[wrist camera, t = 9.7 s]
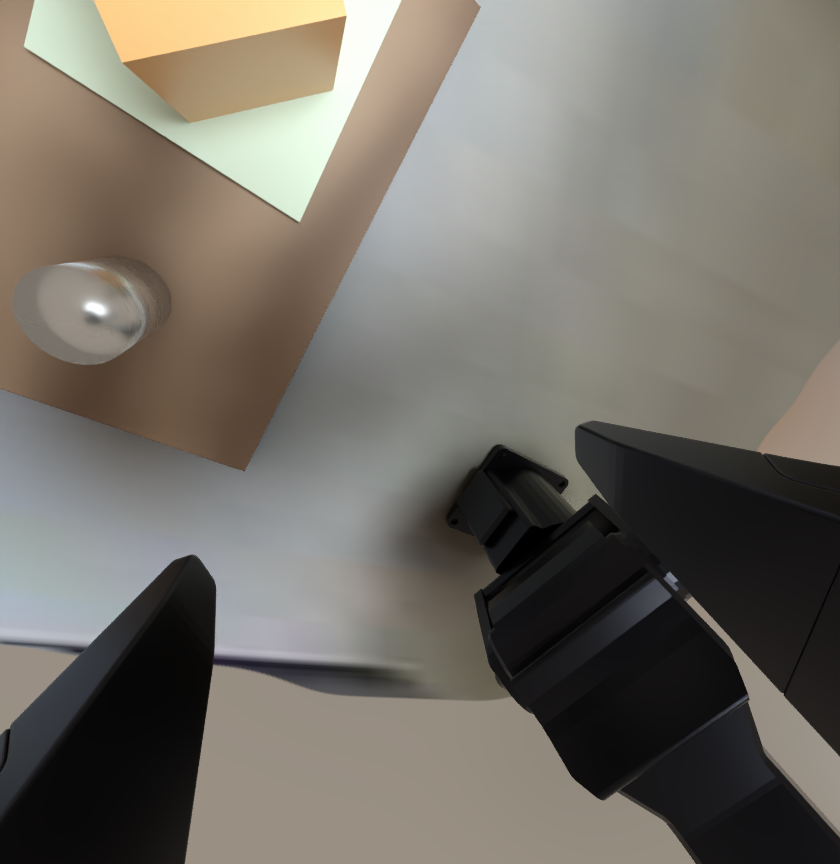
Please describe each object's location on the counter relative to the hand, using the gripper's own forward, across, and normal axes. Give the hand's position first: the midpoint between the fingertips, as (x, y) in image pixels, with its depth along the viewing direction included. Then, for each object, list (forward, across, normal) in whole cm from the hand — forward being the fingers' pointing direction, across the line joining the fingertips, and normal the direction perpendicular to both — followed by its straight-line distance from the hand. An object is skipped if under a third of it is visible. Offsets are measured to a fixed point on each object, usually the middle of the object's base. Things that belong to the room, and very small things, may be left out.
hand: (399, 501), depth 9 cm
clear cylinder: (+12, +8, -5) cm, 15 cm away
